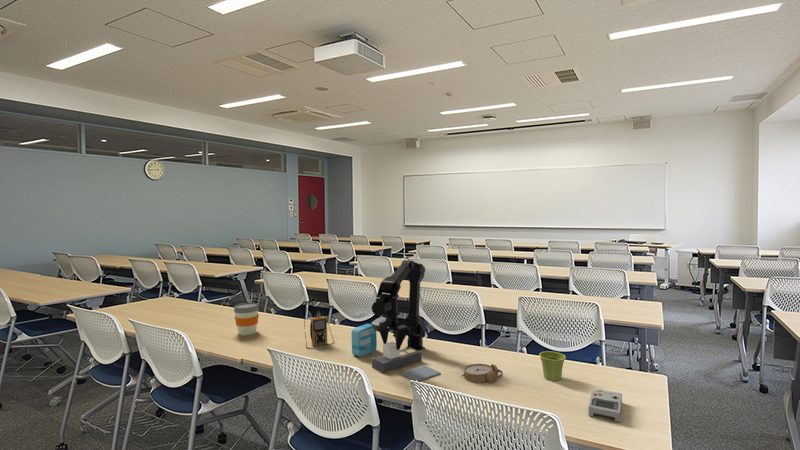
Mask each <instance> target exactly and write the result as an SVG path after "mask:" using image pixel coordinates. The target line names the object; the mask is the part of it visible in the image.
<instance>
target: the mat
mask: <svg viewBox="0 0 800 450" xmlns="http://www.w3.org/2000/svg"><path fill="white" fill-rule="evenodd" d="M400 374H401V375H402V376H404V377H406V378H408V379H410V380H412V379H413V380H412V381H414V380H417V381H419V382H422V381H425V380H427V379H431V378H433V377H436V376H438V375H441V372H440V371H438V370H436V369H434V368H432V367H429V366H427V365H425V364H423V365H420V366H417V367H413V368H411V369H408V370H405V371H402V372H400Z"/></svg>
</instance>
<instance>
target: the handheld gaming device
mask: <svg viewBox="0 0 800 450" xmlns="http://www.w3.org/2000/svg"><path fill="white" fill-rule="evenodd" d="M622 405H623V394H622V392H615V391H609V390H603V389H602V390H601V389H597V390H593V391H591V395H590V398H589V402H588V407H587V414H588V416H589V417H594V415H600V416H604V417H609V418H614V421H615V422H616V423H620V422H621V418H622Z"/></svg>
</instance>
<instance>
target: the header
mask: <svg viewBox="0 0 800 450" xmlns="http://www.w3.org/2000/svg"><path fill="white" fill-rule="evenodd" d="M422 356H423V354H422V351H421V350H415V349H413V348H411V347H409V348H406V347H405V348H403V349H400V357H397V358H393V359H388V358H386V357H384V356H383V354H382V355H378V356H374V357H371V363H372V368H373V369H374V370H376V371H378V372H380V373H382V374H386V373H389V372H393V371H396V370H398V369H402V368H405V367H408V366H411V365H414V364H417V363H421V362H423V359H422V358H423V357H422Z"/></svg>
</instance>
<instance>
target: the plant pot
mask: <svg viewBox="0 0 800 450" xmlns="http://www.w3.org/2000/svg"><path fill="white" fill-rule="evenodd" d="M538 355H539V358H540V361H541V366H542V373H543V377H544V379H545V380H549V381H552V382H557V381H559V380H561V379H562V373H563V368H564V363H565V360H566V355H565V354H563V353H560V352H558V351H557V352H556V351H542V352H540V353H539V354H538Z"/></svg>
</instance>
